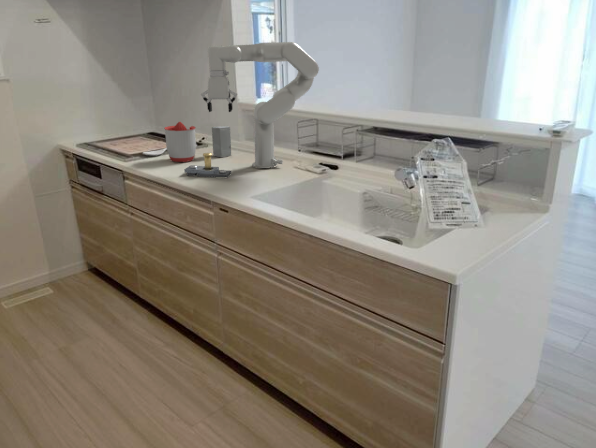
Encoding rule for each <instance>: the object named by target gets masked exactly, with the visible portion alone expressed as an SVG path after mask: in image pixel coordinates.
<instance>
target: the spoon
mask: <svg viewBox="0 0 596 448" xmlns="http://www.w3.org/2000/svg"><path fill="white" fill-rule="evenodd" d="M197 147H198V144H196V148H197ZM165 151H167V147H165V148H162V149H161V148H160V149H158V150H152V151H142V155H146V156H150V157H156V156H157V157H158V156H160V155H162V154H163V153H165Z"/></svg>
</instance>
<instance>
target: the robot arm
mask: <svg viewBox="0 0 596 448" xmlns="http://www.w3.org/2000/svg"><path fill="white" fill-rule="evenodd" d="M207 55H208V56H207V57H208V67H209V77H208V78H207V79H208V80H207V90H206V91H204V92H202V93H201V94H200V95H201V98H202V99H203V101H204V102H205V103H206V104H207V106H206V107H207V111H208V113H210V112H212V111H213V106H212V105H213V104H212V101H213V100H226V101H227V102H228V103H227V106H228V113H231V112H232V111H233V103H234V101H236V99H237V97H238V92H236V91H233V90H232V89H231V85H230V80H229V77H227V76H228V75H230V72H229V71H227V68H226V63H238V62H240V63H241V62H257V63H275V62H276V63H278V62H288V63H289V64H290V65H291V66H293V68H294V69H296V71H297V75H296V76H295V78H294V79H293V80H292V81H290V82H288V83H287V84H286V85H284V86H283V87H281V88H280V89H279V90H277V91H276V92H275V93H274V94H273V97H272V98H270V99H269V100H267V101H260V102H258V103H256V105H254V109H253V123H254V127H253V128H254V162H252V163H251V167H252V166H253V168H254V167H257V168H256V169H258V168H269V167H274V166H276V165H277V166H278V165H283V159H280V158H278V159H277V158H276V156H275V122H276V121H278V120H279V119H280V118H282V117H283V116H285V115H286V114H288V112H290V111H292V109H293V108H294V106H295V104H296V101H298V100H299V99H300V98H301V97H303V96H305V94H306V93H307V92H308V91H309V90H310V89H311V88H312V86H313V82H314V79H315V77H316V76H317V75H318V74H319V71H320V67H319V64H318V62H317V61H316V60H315V59H314V58H313V57H312V56H310V55H309V53H307V51H305V50H304V49H303V48H302V47H301V46H300V45H299V44H297V43H296V42H293V41H281V42H261V43H260V42H258V43H254V44H234V45H233V44H231V45H226V46H222V45H221V46H220V45H212V46H211V45H210V46H208V47H207ZM206 95H207V96H208V97H207V96H206ZM231 96H232V97H231Z"/></svg>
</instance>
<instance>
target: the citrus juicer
mask: <svg viewBox="0 0 596 448" xmlns="http://www.w3.org/2000/svg"><path fill="white" fill-rule="evenodd" d="M164 134H165V145H166V146H165V148H167V150H166V151H167V155H168V157H169V159H170V161H171V162H176V163H177V162H178V163H187V162H191V161H193V160H194V158H195V155H196V149H197V147H196V145H197V139H196V126H193V125H191V126H190V127H189V129H187V127H186V126H185V125H184V123H183V122H181V121H178V122H177V123H176V124H175V125H169V126H165V127H164Z"/></svg>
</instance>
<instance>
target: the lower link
mask: <svg viewBox="0 0 596 448" xmlns="http://www.w3.org/2000/svg"><path fill="white" fill-rule="evenodd" d="M230 174H231V175H232V170H226V169H219V170H218V171H217V172H216V173H215V174H201V173H197V175H196V177H199V178H216V177H227V178H228V177H230V176H231V175H230Z"/></svg>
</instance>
